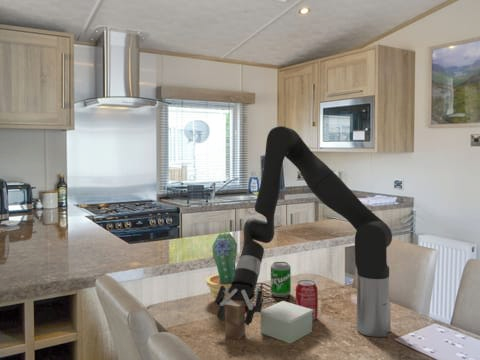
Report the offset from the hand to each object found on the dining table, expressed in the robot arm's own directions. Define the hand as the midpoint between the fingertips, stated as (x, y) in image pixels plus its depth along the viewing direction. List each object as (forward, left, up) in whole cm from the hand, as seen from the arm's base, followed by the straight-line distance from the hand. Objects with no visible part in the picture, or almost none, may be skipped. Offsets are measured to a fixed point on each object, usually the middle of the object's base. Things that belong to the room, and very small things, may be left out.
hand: (233, 321), depth 126 cm
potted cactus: (+19, -25, -5) cm, 32 cm away
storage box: (-12, -11, -5) cm, 17 cm away
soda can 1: (+5, -41, -5) cm, 42 cm away
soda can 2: (-13, -24, -5) cm, 28 cm away
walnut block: (0, -1, -5) cm, 5 cm away
